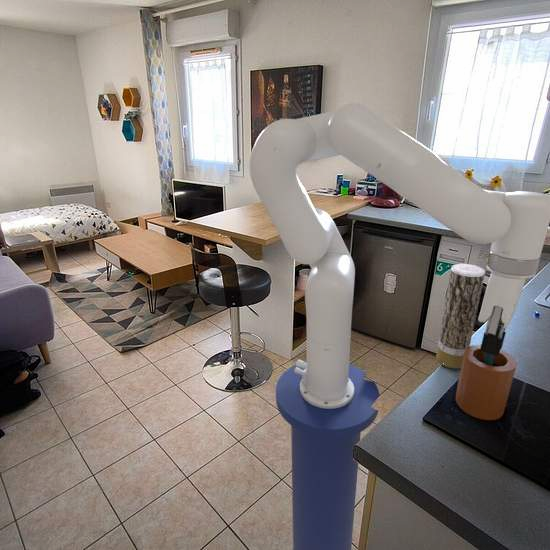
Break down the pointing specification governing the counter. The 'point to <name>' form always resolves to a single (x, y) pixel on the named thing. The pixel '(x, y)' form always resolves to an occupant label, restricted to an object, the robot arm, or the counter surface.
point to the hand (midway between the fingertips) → (490, 349)
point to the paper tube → (459, 313)
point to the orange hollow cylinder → (484, 383)
